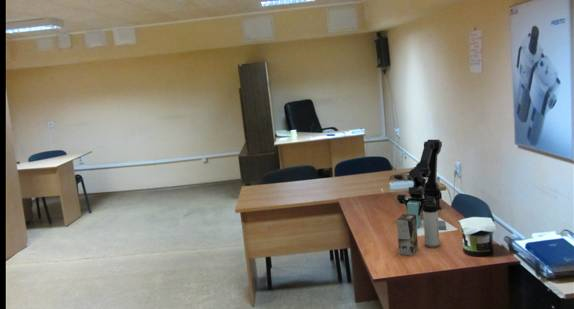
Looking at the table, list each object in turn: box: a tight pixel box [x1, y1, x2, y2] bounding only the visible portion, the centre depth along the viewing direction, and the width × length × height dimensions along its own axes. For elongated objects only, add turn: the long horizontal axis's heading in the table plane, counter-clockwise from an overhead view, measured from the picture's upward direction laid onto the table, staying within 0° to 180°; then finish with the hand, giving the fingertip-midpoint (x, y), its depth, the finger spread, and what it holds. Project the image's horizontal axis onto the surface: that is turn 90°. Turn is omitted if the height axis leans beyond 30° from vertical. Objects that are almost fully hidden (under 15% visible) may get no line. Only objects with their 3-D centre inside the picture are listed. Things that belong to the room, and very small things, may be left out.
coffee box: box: [396, 213, 419, 256], centre depth 207 cm, size 9×6×16 cm
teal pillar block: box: [406, 201, 422, 227], centre depth 233 cm, size 5×5×12 cm
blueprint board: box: [417, 217, 459, 237], centre depth 233 cm, size 23×20×1 cm
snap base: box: [438, 220, 446, 230], centre depth 231 cm, size 8×8×2 cm
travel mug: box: [422, 203, 440, 249], centre depth 210 cm, size 6×7×20 cm
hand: (413, 215), depth 232 cm, fingers closed on teal pillar block, 5 cm apart
